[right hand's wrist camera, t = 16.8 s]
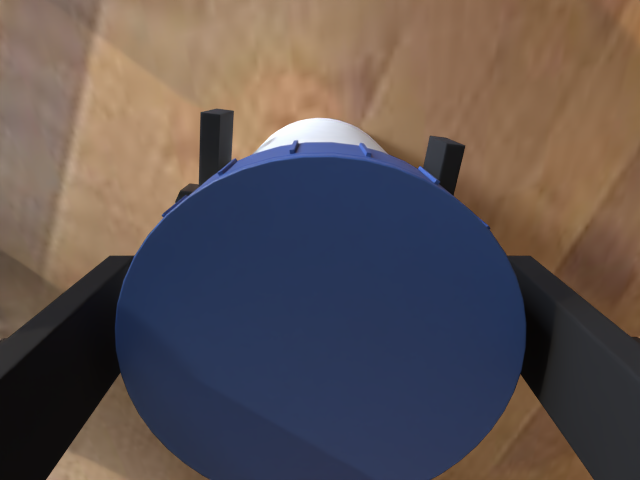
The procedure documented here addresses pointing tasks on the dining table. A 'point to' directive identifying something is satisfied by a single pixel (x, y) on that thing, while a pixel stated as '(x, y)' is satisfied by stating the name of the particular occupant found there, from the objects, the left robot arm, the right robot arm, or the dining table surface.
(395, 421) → the lid
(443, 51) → the dining table surface
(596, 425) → the right robot arm
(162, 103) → the dining table surface
